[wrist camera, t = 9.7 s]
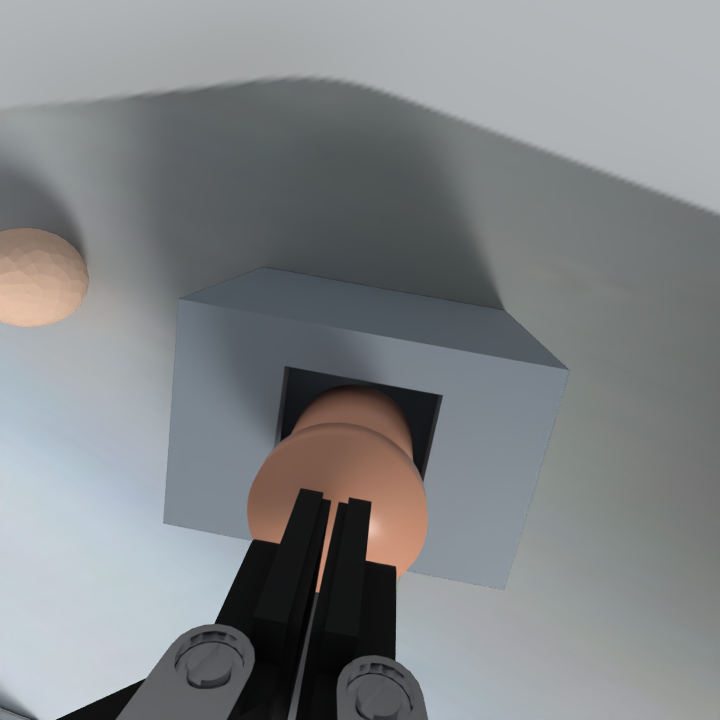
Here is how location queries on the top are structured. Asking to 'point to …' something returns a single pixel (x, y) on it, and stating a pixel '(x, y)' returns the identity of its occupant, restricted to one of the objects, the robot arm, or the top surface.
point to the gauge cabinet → (373, 369)
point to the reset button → (347, 473)
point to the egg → (39, 277)
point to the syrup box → (10, 715)
